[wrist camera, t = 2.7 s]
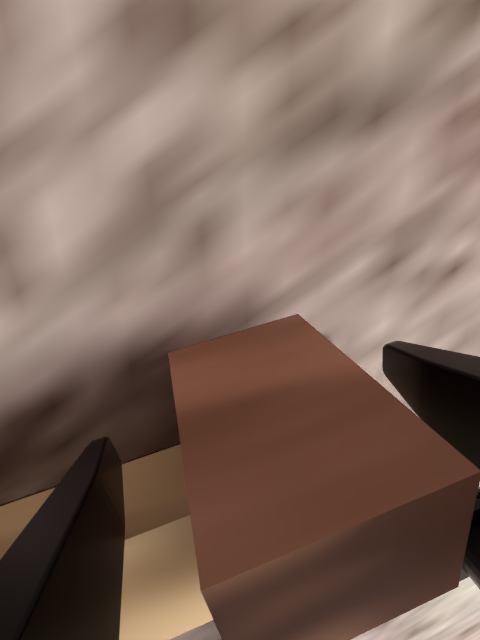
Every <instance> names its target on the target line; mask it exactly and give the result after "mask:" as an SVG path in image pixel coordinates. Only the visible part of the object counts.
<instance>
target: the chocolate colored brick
mask: <svg viewBox="0 0 480 640" xmlns="http://www.w3.org/2000/svg"><path fill="white" fill-rule="evenodd" d="M168 357H169V365H170V372H171V379H172V387H173V394H174V401H175V408H176V416H177V423H178V430H179V437H180V445H181V452H182V459H183V466H184V474H185V481H186V488H187V495H188V503H189V510H190V517H191V524H192V532H193V539H194V546H195V553H196V561H197V568H198V575H199V582H200V590H201V593H202V595H203V597H204V599H205V602H206V604H207V606H208V608H209V611H210V613H211V615H212V617H213V620H214V622H215V624H216V626H217V629H218V631H219V633H220V635H221V638H222V640H350V639H352V638H354V637H356V636H358V635H361V634H363V633H365V632H367V631H369V630H371V629H373V628H375V627H377V626H379V625H381V624H383V623H385V622H387V621H389V620H391V619H393V618H395V617H397V616H399V615H401V614H403V613H406V612H408V611H410V610H412V609H414V608H416V607H418V606H420V605H422V604H424V603H426V602H428V601H430V600H432V599H434V598H436V597H438V596H440V595H442V594H444V593H446V592H448V591H450V590H453V589H455V588H457V587H458V585H459V580H460V575H461V570H462V565H463V560H464V555H465V550H466V546H467V541H468V536H469V531H470V526H471V521H472V516H473V511H474V506H475V502H476V497H477V492H478V487H479V482H480V469H478V468H477V467H476V466H475V465H474V464H473V463H471V462H470V461H469V460H468V459H467V458H466V457H464V456H463V455H462V454H461V453H460V452H459V451H457V450H456V449H455V448H454V447H453V446H452V445H450V444H449V443H448V442H447V441H446V440H445V439H443V438H442V437H441V436H440V435H439V434H438V433H436V432H435V431H434V430H433V429H432V428H430V427H429V426H428V425H427V424H426V423H425V422H423V421H422V420H421V419H420V418H419V417H418V416H416V415H415V414H414V413H413V412H412V411H411V410H409V409H408V408H407V407H406V406H405V405H404V404H402V403H401V402H400V401H399V400H398V399H397V398H395V397H394V396H393V395H392V394H391V393H390V392H388V391H387V390H386V389H385V388H384V387H383V386H381V385H380V384H379V383H378V382H377V381H376V380H374V379H373V378H372V377H371V376H370V375H369V374H367V373H366V372H365V371H364V370H363V369H362V368H360V367H359V366H358V365H357V364H356V363H354V362H353V361H352V360H351V359H350V358H349V357H347V356H346V355H345V354H344V353H343V352H342V351H340V350H339V349H338V348H337V347H336V346H335V345H333V344H332V343H331V342H330V341H329V340H328V339H326V338H325V337H324V336H323V335H322V334H321V333H319V332H318V331H317V330H316V329H315V328H314V327H312V326H311V325H310V324H309V323H308V322H307V321H305V320H304V319H303V318H302V317H301V316H300V315H298V314H296V315H293V316H290V317H286V318H283V319H280V320H276V321H273V322H269V323H266V324H263V325H259V326H256V327H252V328H249V329H246V330H242V331H239V332H235V333H232V334H229V335H225V336H222V337H219V338H215V339H212V340H208V341H205V342H202V343H198V344H195V345H191V346H188V347H185V348H181V349H178V350H174V351H171V352H168Z"/></svg>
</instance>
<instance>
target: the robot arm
mask: <svg viewBox="0 0 480 640" xmlns="http://www.w3.org/2000/svg"><path fill="white" fill-rule="evenodd" d="M383 372H384V374H385V376H386V377H387V378H388V380H389V381H390V382H391V383H392V385H393V386H394V387H395V388H396V390H397V391H398V392H399V393H400V395H401V396H402V397H403V398H404V400H405V401H406V402H407V403H408V405H409V406H410V407H411V408H412V409H413V411H414V412H415V413H416V414H417V415H418V416H419V418H420V419H421V420H422V421H423V422H425V423H426V424H427V425H428V426H429V427H430V428H432V429H433V430H434V431H435V432H436V433H438V434H439V435H440V436H441V437H442V438H443V439H445V440H446V441H447V442H448V443H449V444H450V445H452V446H453V447H454V448H455V449H456V450H457V451H459V452H460V453H461V454H462V455H463V456H464V457H466V458H467V459H468V460H469V461H470V462H471V463H473V464H474V465H475V466H476V467H477V468H478V469H480V357H477V356H472V355H467V354H462V353H457V352H452V351H447V350H442V349H437V348H432V347H427V346H422V345H417V344H412V343H407V342H402V341H394V342H391V343H388V344H385V345H384V347H383ZM124 545H125V510H124V493H123V476H122V464H121V460H120V457H119V455H118V453H117V451H116V449H115V447H114V445H113V443H112V441H111V439H110V438H109V437H102V438H99V439H96V440H93V441H91V442H90V443H89V445H88V446H87V447H86V449H85V450H84V451H83V452H82V454H81V455H80V456H79V458H78V459H77V460H76V462H75V463H74V464H73V465H72V467H71V468H70V469H69V471H68V472H67V473H66V475H65V476H64V477H63V478H62V480H61V481H60V482H59V484H58V485H57V486H56V487H55V489H54V490H53V491H52V493H51V494H50V495H49V497H48V498H47V499H46V500H45V502H44V503H43V504H42V506H41V507H40V508H39V510H38V511H37V512H36V513H35V515H34V516H33V517H32V519H31V520H30V521H29V523H28V524H27V525H26V526H25V528H24V529H23V530H22V532H21V533H20V534H19V536H18V537H17V538H16V539H15V541H14V542H13V543H12V545H11V546H10V547H9V549H8V550H7V551H6V552H5V554H4V555H3V556H2V558H1V559H0V640H119V635H120V617H121V599H122V581H123V563H124ZM467 577H470V578H471V579H472V580H473V582H474V583H475V584H476V585H477V586H478V588H479V589H480V498H478V499H476V502H475V506H474V511H473V516H472V521H471V526H470V531H469V536H468V541H467V546H466V550H465V555H464V560H463V565H462V570H461V575H460V580H459V581H461V580H463V579H465V578H467Z"/></svg>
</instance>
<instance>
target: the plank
mask: <svg viewBox="0 0 480 640" xmlns="http://www.w3.org/2000/svg"><path fill="white" fill-rule="evenodd" d="M122 476H123V493H124V510H125V545H124V563H123V581H122V599H121V617H120V635H119V640H169V639H172V638H174V637H176V636H178V635H181V634H183V633H185V632H187V631H190V630H192V629H194V628H196V627H199V626H201V625H203V624H205V623H208V622H210V621H212V620H213V617H212V615H211V613H210V611H209V608H208V606H207V604H206V602H205V599H204V597H203V595H202V593H201V590H200V582H199V575H198V568H197V561H196V553H195V546H194V539H193V532H192V524H191V517H190V510H189V503H188V495H187V488H186V481H185V474H184V466H183V459H182V452H181V445H180V444H179V445H177V446H174V447H171V448H168V449H165V450H162V451H159V452H156V453H153V454H151V455H148V456H145V457H142V458H139V459H136V460H133V461H130V462H127V463H124V464H122ZM54 489H55V488H52V489H49V490H46V491H43V492H40V493H38V494H35V495H32V496H29V497H26V498H23V499H20V500H17V501H14V502H12V503H9V504H6V505H3V506H0V559H1V558H2V556H3V555H4V554H5V552H6V551H7V550H8V549H9V547H10V546H11V545H12V543H13V542H14V541H15V539H16V538H17V537H18V536H19V534H20V533H21V532H22V530H23V529H24V528H25V526H26V525H27V524H28V523H29V521H30V520H31V519H32V517H33V516H34V515H35V513H36V512H37V511H38V510H39V508H40V507H41V506H42V504H43V503H44V502H45V500H46V499H47V498H48V497H49V495H50V494H51V493H52V491H53V490H54Z"/></svg>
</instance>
